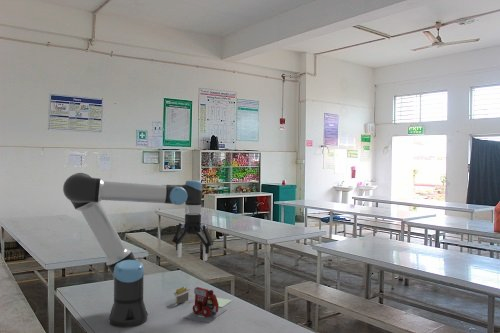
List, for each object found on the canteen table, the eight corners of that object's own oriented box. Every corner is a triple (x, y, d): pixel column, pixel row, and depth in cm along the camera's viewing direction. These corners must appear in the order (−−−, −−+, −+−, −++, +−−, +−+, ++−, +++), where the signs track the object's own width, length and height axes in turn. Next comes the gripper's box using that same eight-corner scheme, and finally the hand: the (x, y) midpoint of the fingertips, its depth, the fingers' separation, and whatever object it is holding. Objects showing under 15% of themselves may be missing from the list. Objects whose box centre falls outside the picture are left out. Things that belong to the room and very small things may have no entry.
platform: (158, 305, 186) (158, 291, 186) (183, 294, 201) (183, 281, 201) (178, 311, 180) (179, 296, 180) (203, 299, 195) (203, 285, 195)
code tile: (208, 322, 166) (208, 322, 166) (183, 317, 171) (183, 317, 171) (226, 310, 180) (226, 309, 180) (203, 305, 185) (203, 305, 185)
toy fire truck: (212, 318, 169) (212, 294, 169) (189, 312, 176) (189, 288, 176) (222, 313, 175) (222, 289, 175) (199, 307, 182) (200, 284, 182)
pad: (222, 307, 183) (222, 306, 183) (203, 304, 187) (203, 303, 187) (232, 301, 192) (232, 300, 192) (213, 297, 196) (213, 297, 196)
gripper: (220, 214, 189) (219, 260, 189) (174, 211, 198) (173, 254, 198) (213, 216, 182) (212, 263, 182) (165, 212, 191) (164, 257, 191)
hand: (192, 259), depth 190 cm, fingers open, 13 cm apart
